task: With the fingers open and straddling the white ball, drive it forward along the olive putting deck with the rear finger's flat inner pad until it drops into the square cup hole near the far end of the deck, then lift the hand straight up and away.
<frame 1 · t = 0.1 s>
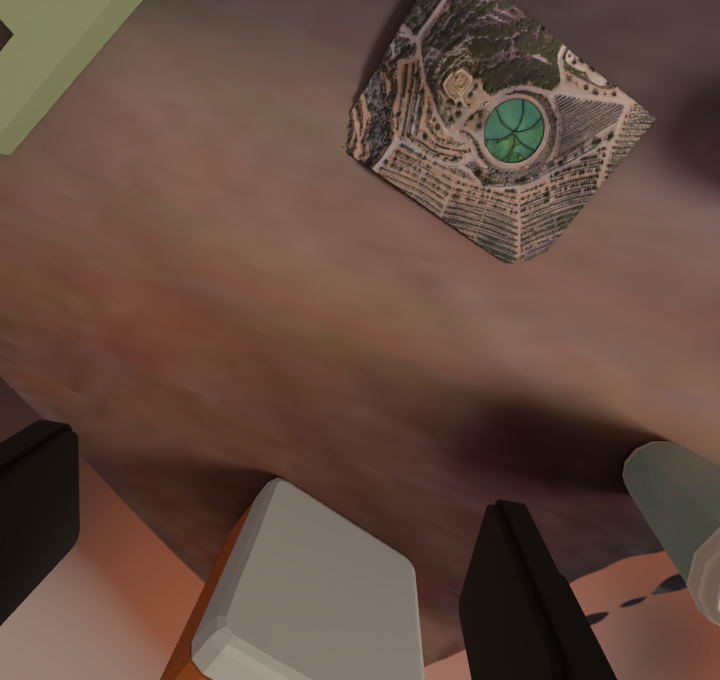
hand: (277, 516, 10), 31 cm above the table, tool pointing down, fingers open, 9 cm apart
terrain model: (484, 134, 37), on the table
orange and grey box: (324, 541, 48), on the table
disposable coffee cup: (656, 467, 44), on the table
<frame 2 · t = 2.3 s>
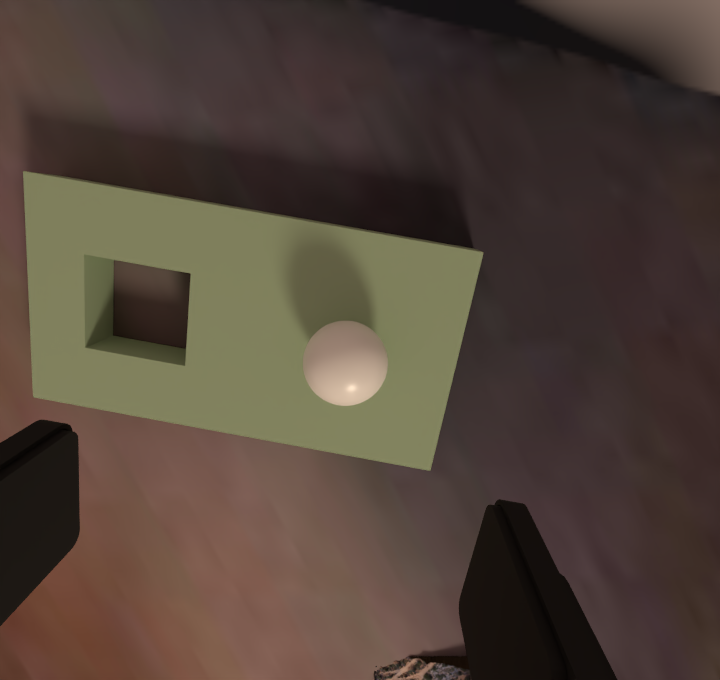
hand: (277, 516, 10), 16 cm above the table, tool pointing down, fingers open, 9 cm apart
deck: (254, 319, 25), on the table
ball: (345, 362, 21), point 4 cm above the table, touching deck
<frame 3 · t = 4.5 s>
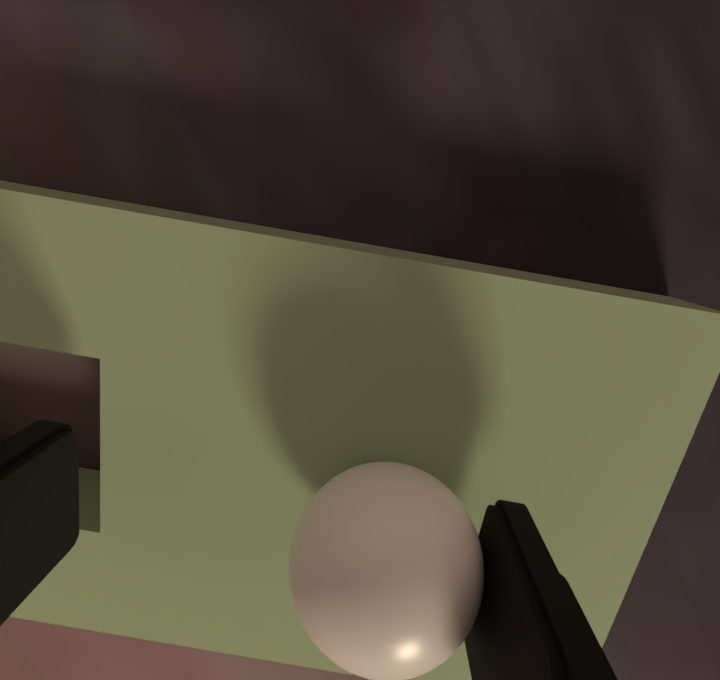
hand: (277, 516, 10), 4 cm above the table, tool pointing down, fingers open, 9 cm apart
deck: (238, 424, 14), on the table
ball: (385, 560, 9), point 4 cm above the table, tilted 31°, touching deck, gripper
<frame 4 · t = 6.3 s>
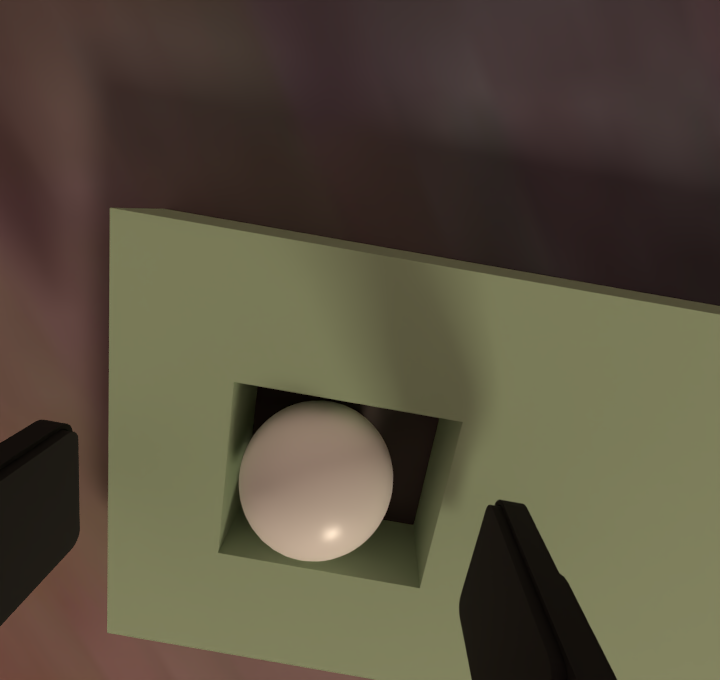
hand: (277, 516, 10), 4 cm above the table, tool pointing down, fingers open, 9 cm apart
deck: (517, 473, 14), on the table
ball: (317, 476, 12), point 2 cm above the table, tilted 32°
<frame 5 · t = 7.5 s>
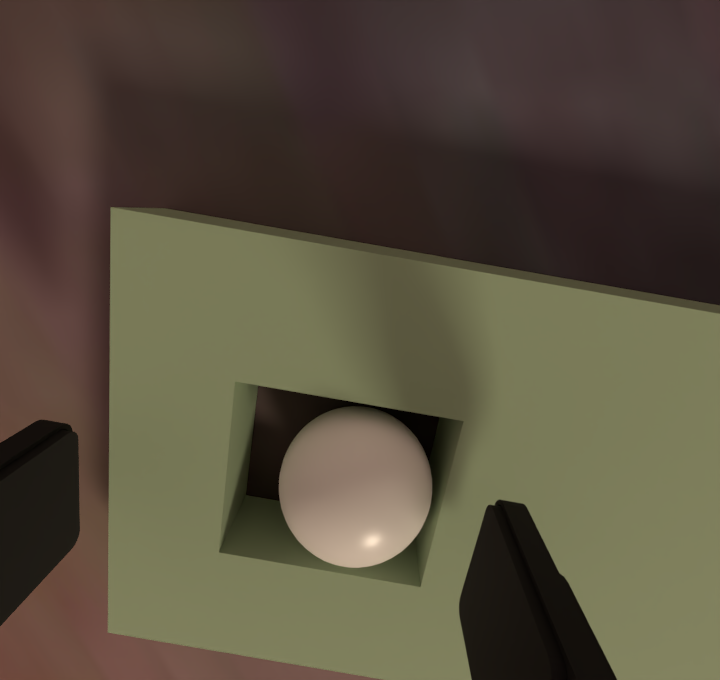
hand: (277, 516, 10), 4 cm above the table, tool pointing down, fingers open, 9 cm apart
deck: (517, 472, 14), on the table
ball: (355, 482, 12), point 2 cm above the table, tilted 61°
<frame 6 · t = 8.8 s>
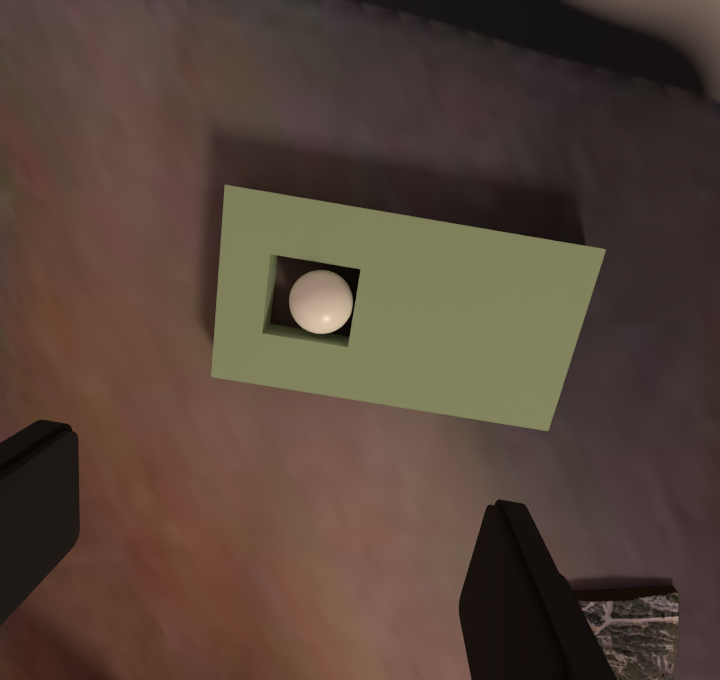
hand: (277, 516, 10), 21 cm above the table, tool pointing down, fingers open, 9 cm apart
deck: (395, 307, 30), on the table
terrain model: (566, 671, 40), on the table
ball: (321, 302, 28), point 2 cm above the table, tilted 64°
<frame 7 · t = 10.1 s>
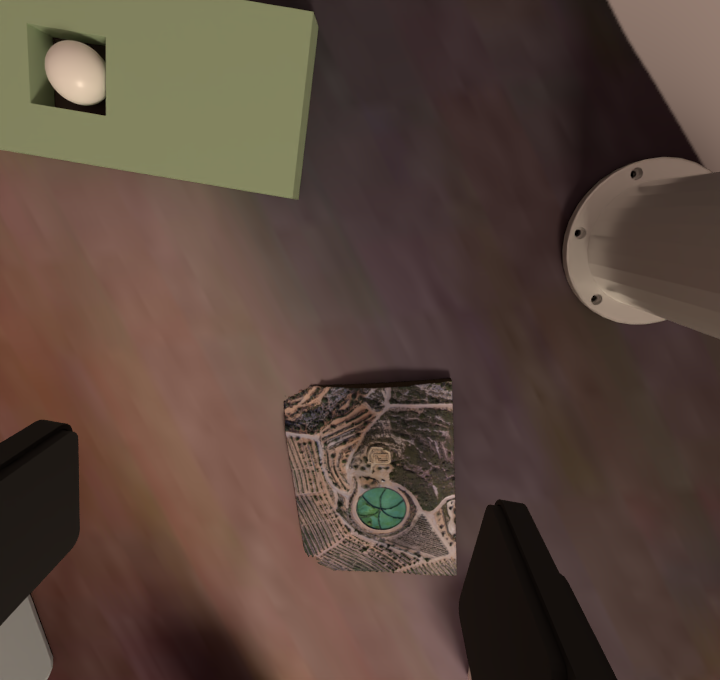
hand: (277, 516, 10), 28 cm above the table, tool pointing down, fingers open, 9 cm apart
deck: (161, 93, 33), on the table
terrain model: (373, 476, 43), on the table
orange and grey box: (0, 601, 48), on the table
ball: (78, 73, 31), point 2 cm above the table, tilted 60°
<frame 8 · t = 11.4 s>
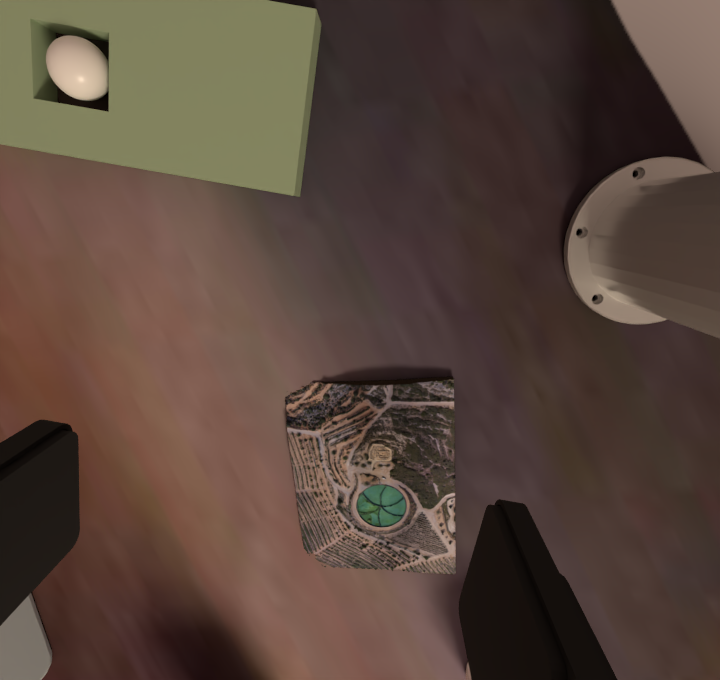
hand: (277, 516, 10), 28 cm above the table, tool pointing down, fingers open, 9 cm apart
deck: (164, 89, 33), on the table
terrain model: (373, 473, 43), on the table
orange and grey box: (0, 595, 49), on the table
ball: (80, 69, 31), point 2 cm above the table, tilted 56°
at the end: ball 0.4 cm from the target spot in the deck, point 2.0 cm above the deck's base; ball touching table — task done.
